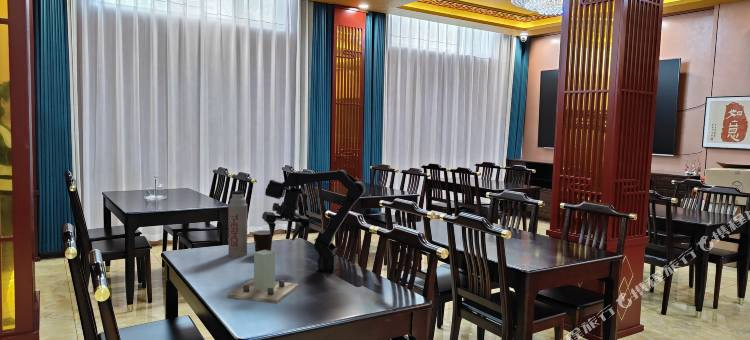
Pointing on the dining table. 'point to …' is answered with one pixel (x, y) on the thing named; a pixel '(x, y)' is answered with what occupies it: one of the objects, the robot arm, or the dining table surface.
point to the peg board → (269, 296)
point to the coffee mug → (262, 240)
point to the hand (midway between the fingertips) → (282, 239)
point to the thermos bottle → (237, 225)
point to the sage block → (264, 270)
